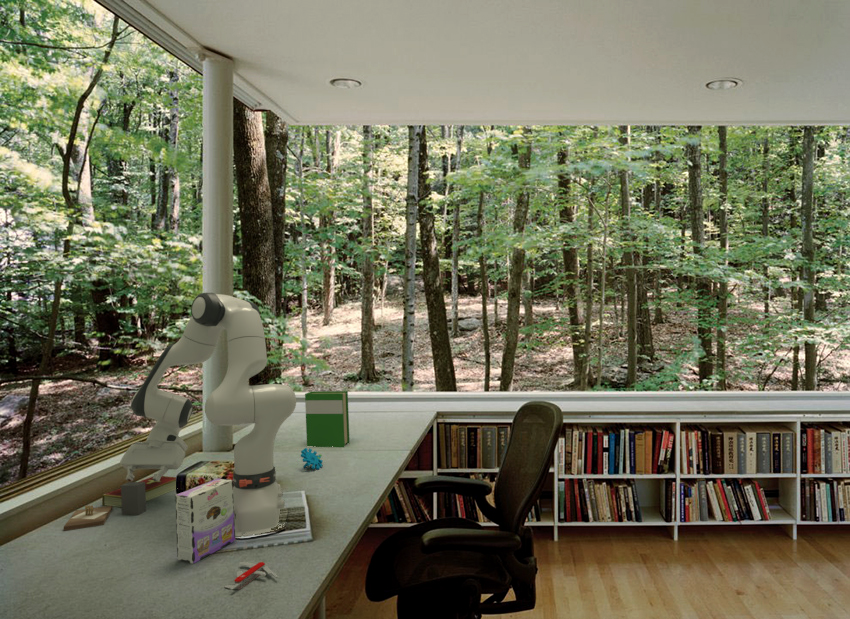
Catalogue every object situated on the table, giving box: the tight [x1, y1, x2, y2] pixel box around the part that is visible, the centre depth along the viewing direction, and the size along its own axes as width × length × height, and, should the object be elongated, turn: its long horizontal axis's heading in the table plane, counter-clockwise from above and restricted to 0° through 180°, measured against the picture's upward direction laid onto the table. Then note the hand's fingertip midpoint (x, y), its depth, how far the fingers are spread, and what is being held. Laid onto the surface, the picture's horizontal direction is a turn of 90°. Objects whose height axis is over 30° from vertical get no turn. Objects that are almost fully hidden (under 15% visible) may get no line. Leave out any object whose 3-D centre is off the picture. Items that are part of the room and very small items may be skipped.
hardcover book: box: [101, 475, 177, 508], centre depth 182 cm, size 12×21×4 cm, turn 160°
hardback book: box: [304, 390, 350, 448], centre depth 244 cm, size 18×7×24 cm, turn 79°
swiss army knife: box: [223, 561, 279, 590], centre depth 120 cm, size 12×14×2 cm
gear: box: [300, 447, 323, 470], centre depth 209 cm, size 11×6×10 cm
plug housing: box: [120, 481, 147, 516], centre depth 166 cm, size 6×4×9 cm, turn 81°
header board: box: [63, 505, 114, 532], centre depth 162 cm, size 14×10×4 cm
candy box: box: [174, 477, 236, 565], centre depth 137 cm, size 14×6×16 cm, turn 154°
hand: (142, 480), depth 171 cm, fingers open, 8 cm apart
